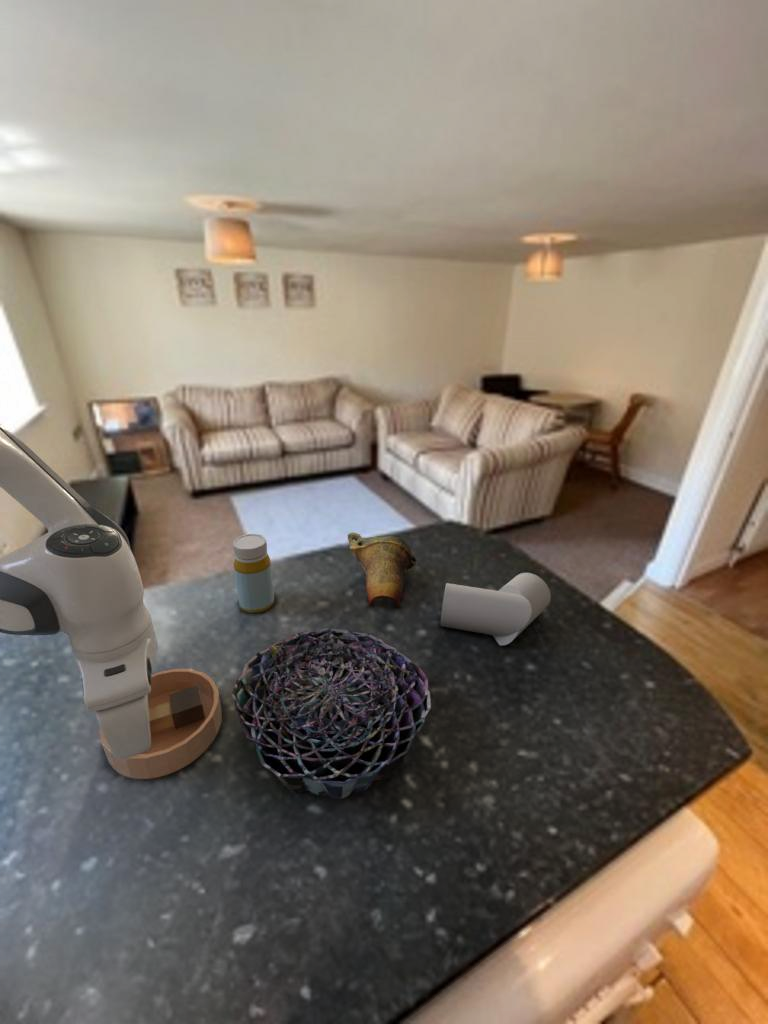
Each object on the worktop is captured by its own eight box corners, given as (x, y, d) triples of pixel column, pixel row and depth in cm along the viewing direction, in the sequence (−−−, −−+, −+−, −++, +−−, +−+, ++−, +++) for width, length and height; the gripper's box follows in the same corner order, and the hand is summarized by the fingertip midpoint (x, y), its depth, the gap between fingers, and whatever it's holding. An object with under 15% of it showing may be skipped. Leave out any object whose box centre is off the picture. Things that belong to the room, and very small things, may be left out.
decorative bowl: (328, 883, 50) (330, 836, 46) (199, 728, 65) (191, 681, 61) (452, 734, 68) (463, 689, 63) (328, 639, 83) (330, 597, 78)
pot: (348, 578, 86) (356, 513, 99) (332, 609, 94) (341, 545, 107) (429, 599, 90) (427, 534, 103) (408, 627, 97) (408, 563, 110)
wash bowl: (84, 781, 58) (74, 758, 56) (139, 689, 72) (133, 668, 70) (201, 781, 59) (196, 758, 57) (234, 689, 73) (231, 669, 71)
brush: (127, 747, 61) (122, 731, 60) (127, 724, 64) (122, 709, 63) (205, 718, 65) (202, 704, 64) (201, 699, 68) (198, 684, 67)
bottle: (277, 610, 91) (270, 546, 84) (241, 618, 89) (232, 553, 82) (271, 591, 97) (265, 530, 90) (238, 598, 94) (229, 535, 88)
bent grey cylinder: (507, 669, 76) (558, 616, 89) (504, 615, 73) (556, 568, 86) (426, 638, 88) (481, 595, 102) (420, 590, 85) (478, 553, 99)
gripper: (92, 607, 64) (115, 679, 70) (83, 715, 47) (114, 797, 53) (141, 595, 66) (160, 665, 72) (149, 693, 50) (171, 773, 56)
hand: (140, 722), depth 63 cm, fingers closed on brush, 2 cm apart
